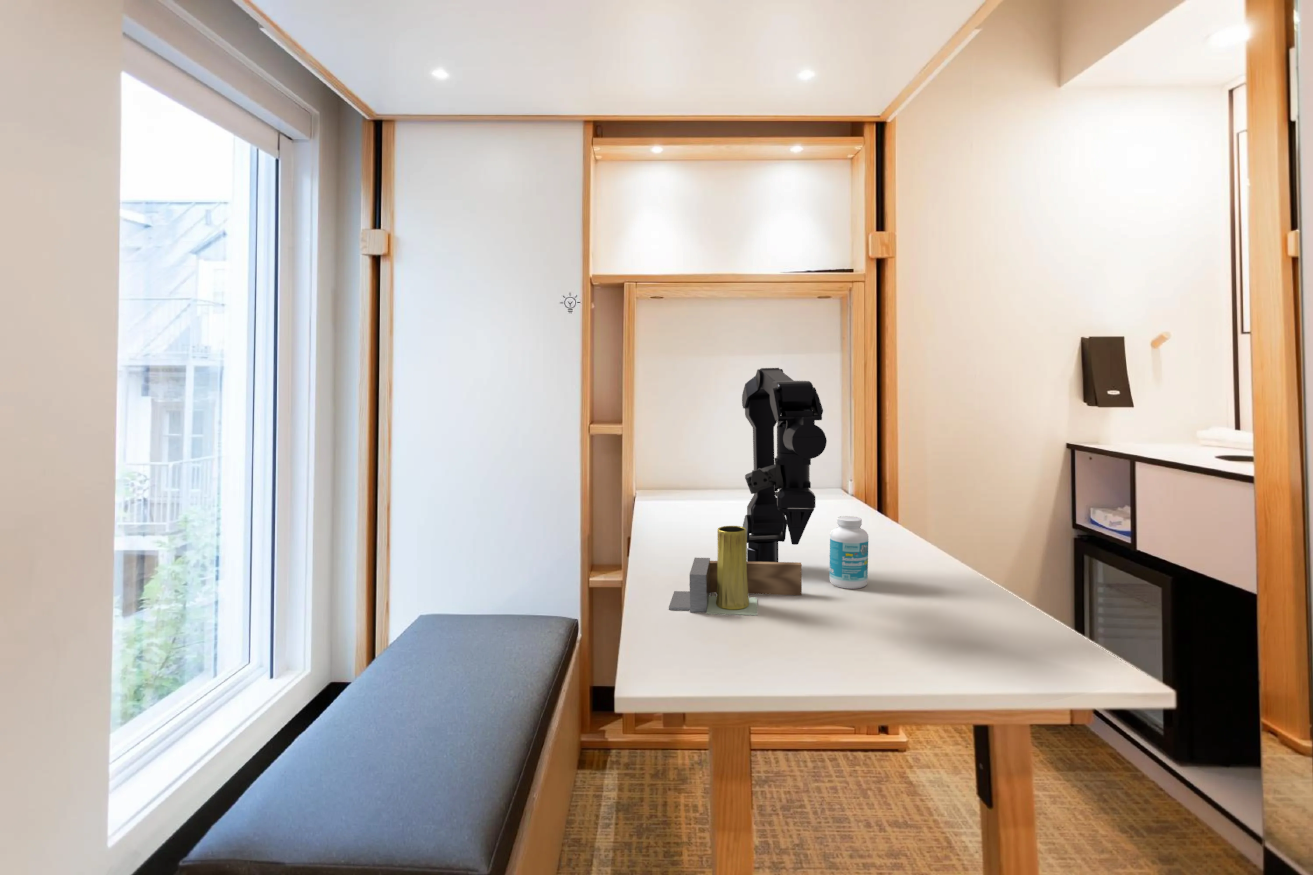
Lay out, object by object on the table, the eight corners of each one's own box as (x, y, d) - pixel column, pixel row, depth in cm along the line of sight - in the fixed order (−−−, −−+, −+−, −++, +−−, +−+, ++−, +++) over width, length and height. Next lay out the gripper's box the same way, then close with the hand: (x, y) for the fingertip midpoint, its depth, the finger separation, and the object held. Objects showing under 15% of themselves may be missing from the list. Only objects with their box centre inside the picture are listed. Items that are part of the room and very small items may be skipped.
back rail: (801, 592, 129) (801, 562, 129) (801, 595, 128) (801, 564, 127) (695, 589, 132) (695, 560, 132) (695, 592, 131) (694, 562, 130)
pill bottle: (843, 591, 129) (844, 523, 128) (822, 581, 136) (822, 516, 135) (875, 587, 132) (876, 520, 131) (853, 576, 139) (853, 512, 138)
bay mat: (756, 598, 127) (756, 597, 127) (757, 615, 118) (757, 614, 118) (709, 596, 128) (709, 595, 128) (706, 613, 119) (706, 612, 119)
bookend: (710, 592, 130) (710, 557, 130) (706, 612, 120) (706, 574, 119) (674, 591, 131) (674, 557, 131) (668, 611, 121) (667, 573, 120)
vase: (753, 601, 124) (752, 526, 123) (743, 612, 119) (742, 533, 118) (722, 597, 127) (721, 523, 126) (711, 607, 122) (710, 531, 120)
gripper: (747, 446, 129) (748, 525, 130) (747, 458, 111) (747, 550, 112) (806, 446, 127) (806, 526, 129) (815, 458, 109) (815, 551, 110)
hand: (793, 537), depth 120 cm, fingers open, 9 cm apart
